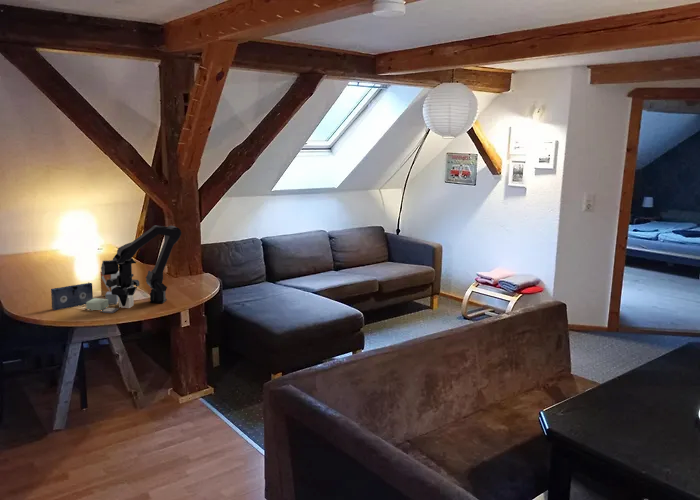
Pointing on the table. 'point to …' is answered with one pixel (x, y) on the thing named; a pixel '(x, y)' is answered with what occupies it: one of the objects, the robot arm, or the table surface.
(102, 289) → the small box
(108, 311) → the swatch
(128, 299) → the cream cube
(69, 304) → the vhs cassette tape
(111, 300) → the slate cube
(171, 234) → the robot arm
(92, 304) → the sage block
